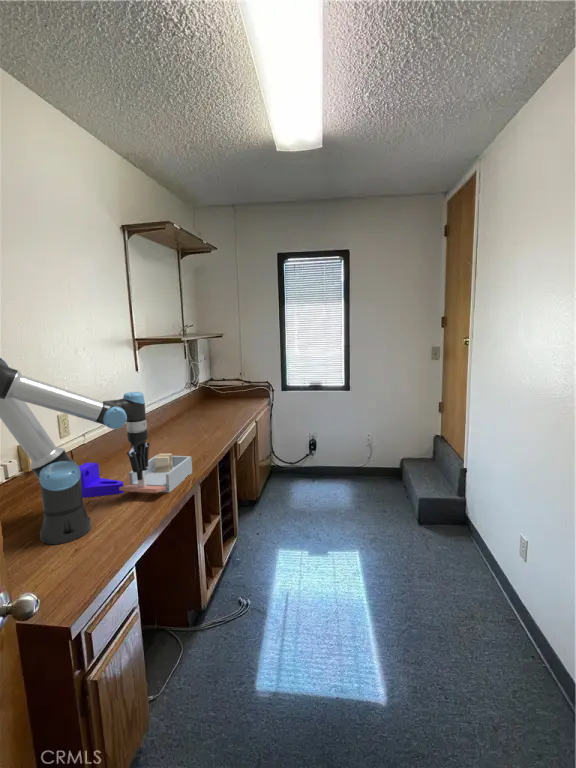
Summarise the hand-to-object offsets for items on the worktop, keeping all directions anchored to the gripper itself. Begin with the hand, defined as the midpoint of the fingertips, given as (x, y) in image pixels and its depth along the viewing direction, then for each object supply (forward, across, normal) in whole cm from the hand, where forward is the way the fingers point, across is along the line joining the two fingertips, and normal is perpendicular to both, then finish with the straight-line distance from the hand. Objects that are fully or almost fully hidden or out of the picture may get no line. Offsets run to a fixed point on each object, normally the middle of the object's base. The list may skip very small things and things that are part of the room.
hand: (142, 486), depth 157 cm
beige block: (+2, +23, +2) cm, 23 cm away
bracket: (+5, +3, +20) cm, 21 cm away
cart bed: (+5, +17, 0) cm, 18 cm away
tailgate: (+2, 0, 0) cm, 2 cm away
